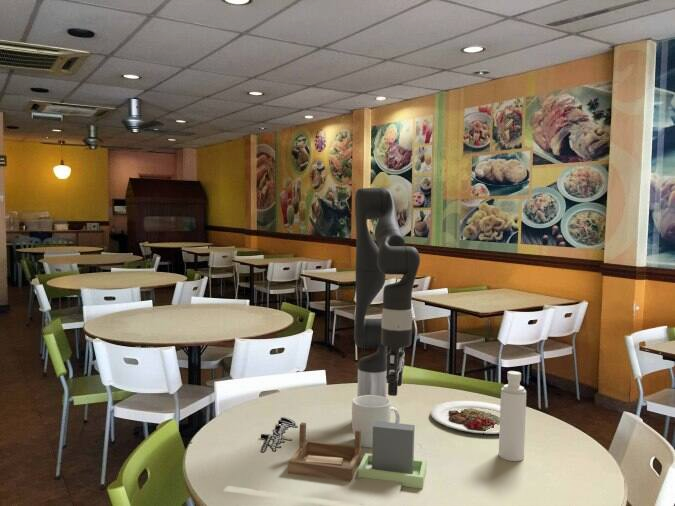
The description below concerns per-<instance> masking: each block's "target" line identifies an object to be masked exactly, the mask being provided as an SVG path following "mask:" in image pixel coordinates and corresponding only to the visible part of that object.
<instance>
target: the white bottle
mask: <svg viewBox="0 0 675 506" xmlns="http://www.w3.org/2000/svg"><path fill="white" fill-rule="evenodd" d="M506 375H507V378H506V379H507V384H504V385H503V386H502V387H501V388H500V403H499V405H500V431H499V435H498V455H499V458H501V459H502V460H504V461H505V460H506V461H510V462H520V461H523V460H524V459H525V445H526V444H525V439H526V415H527V390H526V389H525V386H522V385H521V384H520V383H521V381H522V373H521V372H520V371H515V370H509V371H507V374H506Z"/></svg>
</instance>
